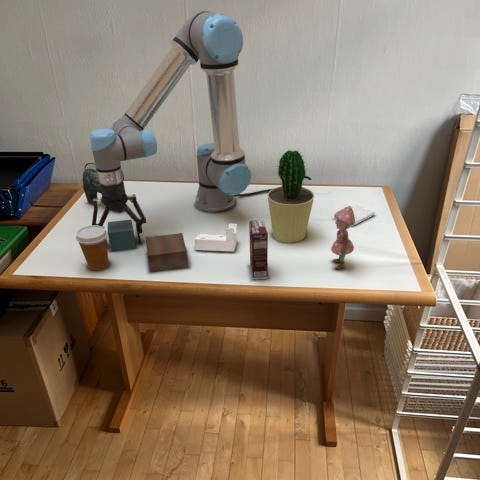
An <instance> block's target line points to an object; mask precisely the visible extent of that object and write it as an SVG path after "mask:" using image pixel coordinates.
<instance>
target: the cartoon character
mask: <svg viewBox="0 0 480 480" xmlns="http://www.w3.org/2000/svg"><path fill="white" fill-rule="evenodd" d="M352 207H353V206H351V205H348V206H346V207H344V208H342V209H340V210H338V211H337V212H335V213H334V215H333V216H334V219H335V218H336V219H337V220H336V219H335V220H336V221H335V222H334V224H335V225H336V229H337V232H336V240H335V241H334V242H333V244H332V245H331V247H330V250H331V252H332V254H334V255H337V256H338V258H334V259H333V258H332V262H335V263H339V264H338V265H336V266H334V269H335V270H339V269H343V268H344V267H345V257H346V255H350V254H351V253H352V252H353V251H354V250H355V246H354V244H353V241H352V240H351V239H349V232H348V230H349V229H350V228H351V227H352V226H351V225H354V224H355V217H354V212H353V209H352ZM354 226H355V225H354ZM347 229H348V230H347Z"/></svg>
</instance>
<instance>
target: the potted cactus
mask: <svg viewBox="0 0 480 480" xmlns="http://www.w3.org/2000/svg"><path fill="white" fill-rule="evenodd" d="M303 157H304V154H303V153H302V152H300V150H299V149H298V150H297V149H296V150H294V149H291V150H289V149H287V150H285V151H284V153H283V154H280V158H279V160H278V164H277V165H276V167H277V168H278V169H277V170H276V173H277V175H278V177H279V179H280V181H278V182H279V183H280V185H279V186H277V187H273V188H274V189H273V188H271V189H272V190H270V191H269V192H267V202H268V208H269V209H268V210H269V215H270V216H269V217H270V223H271V224H270V225H271V232H272V236H273V238H274V239H275V240H276V241H278V242H282V243H289V244H292V243H293V244H294V243H297V242H301V241H302V240H304V239H305V237H306V235H307V230H308V225H309V220H310V216H311V212H312V207H313V204H314V199H315V193H314V192H313V191H312V190H311V189H309V188H307V187H304V186H303V184H304V182H305V180H304V179H305V178H304V177H305V176H306V177H307V176H308V175H307V173H306V172H307V171H308V169H307V167H306V165H305V164H306V162H307V161H305V158H303ZM306 169H307V170H306Z"/></svg>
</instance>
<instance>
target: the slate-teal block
mask: <svg viewBox="0 0 480 480" xmlns="http://www.w3.org/2000/svg"><path fill="white" fill-rule="evenodd" d="M107 238H108V242H109V247H110V251H111V252H118V251H125V250H126V251H128V250H135V249H136V237H135V231H134V225H133V219H124V220H122V219H121V220H113V221H108V222H107Z"/></svg>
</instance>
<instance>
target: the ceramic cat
mask: <svg viewBox="0 0 480 480" xmlns="http://www.w3.org/2000/svg"><path fill="white" fill-rule="evenodd" d="M89 165H91V166H90V167H87V166H89ZM122 176H123V180H122V181H123V182H124V180H125V176H124V172H123V171H122ZM82 184H83V185H82V188H83V191H84V195H85V198H86V201H87V203H88V204H89V205H93V199H94V198H96V199H98V194H101V190H100V183H99V180H98V176H97V171H96V166H95V162H87V163H85V166H84V170H83V173H82ZM114 212H118V213H121V212H125V211H124V210H123V209H121V210H115V211H114Z"/></svg>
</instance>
